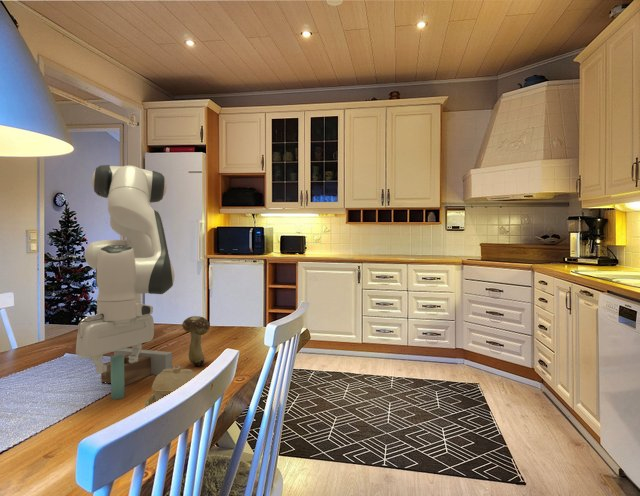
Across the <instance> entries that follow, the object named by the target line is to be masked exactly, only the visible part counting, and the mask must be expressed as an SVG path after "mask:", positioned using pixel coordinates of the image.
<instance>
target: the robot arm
mask: <svg viewBox="0 0 640 496" xmlns="http://www.w3.org/2000/svg"><path fill="white" fill-rule="evenodd" d="M91 184H92V189H93V191H94V193H95V194H96V195H97V196H98V197H101V198H106V199H107V210H108V213H109V215H110V218H109V225H110V228H111V229H112V230H113V231H114V232H115V233H116V234H118V235H119V236H122V237H125V238H126V239H102V240H96V241H92V242H90V243H89V244H88V245H87V247H86V248H85V252H84V259H85V262H86V263H87V265H88V266H89V267H90V268H91V269H93V270H94V271H95V286H96V287H97V288H98V294H97V298H96V315H92V316H85V317H83V319H81V320H80V322H79V323H78V325H77V336H76V344H75V355H76V356H77V357H78V358H80V359H91V362H92V363H93V364H94V366H95V372H96V374H97V375H98V374H99V375H101V374H102V373H105V372H106V371H107V369H106V368H107V365H103V364H104V363H103V361H102V360H103V359H104V355H106V354H110V353H114V351H117V350H121V349H124V348H131V349H133V350H132V353H131V355H130V356H129V363H135V362H138V355H139V353H140V351H141V350H142V349H143V345H142V344H144V343H147V342H151V341H152V340H153V339H154V335H155V325H154V324H155V323H154V318H153V316H152V314H153V312H154V307H153V306H152V305H150V304H145V303H142V301H141V300H142V294H151V295H163V294H165V293H166V292H168V291H169V290H170V289H171V288H172V287H173V286H174V282H175V271H174V266H173V264H172V261H171V259H170V255H169V250H168V249H169V247H168V244H167V239H166V234H165V229H164V228H165V227H164V225H163V221H162V216H161V214H160V213H159V211H157V210H155V209H153V208H152V206H151V205H150V204H151V203H159V202H160V201H161V200H162V201H163V198H164V197H165V195H166V192H167V182H166V179H165V176H164V175H163V173H162V172H158V171H157V170H156V171H155V170H148V169H145V168H141V167H138V166H135V165H123V166H117V165H110V164H102V165H99V166H97V167H96V168H95V170H94V172H93V173H92V177H91Z"/></svg>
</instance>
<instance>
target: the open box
mask: <svg viewBox="0 0 640 496" xmlns="http://www.w3.org/2000/svg"><path fill="white" fill-rule="evenodd" d="M129 356H130V355H126V356H124V384H125V386H128V385H131V384H132V383H135V382H137V381H140V380H141V379H143V378H146V377H147V376H150V375H152V374H151V357H146V356H138V362H135V363H129ZM103 365H107V368H106V369H107V371H106V372H105V373H102V374H100V383H101V382H106V383H111V360H110V361H107V362H104V363H103ZM106 383H105V384H106Z"/></svg>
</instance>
